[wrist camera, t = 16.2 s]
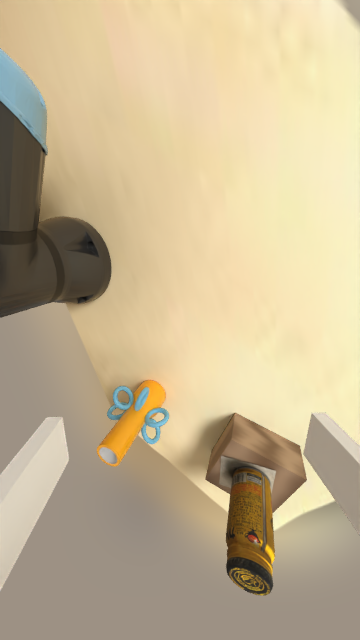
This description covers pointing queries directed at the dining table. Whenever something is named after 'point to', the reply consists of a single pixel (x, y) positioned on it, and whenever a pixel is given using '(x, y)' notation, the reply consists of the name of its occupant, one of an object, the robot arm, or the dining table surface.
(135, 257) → the dining table surface
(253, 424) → the riser
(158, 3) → the dining table surface
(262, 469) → the condiment
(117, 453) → the cylinder
